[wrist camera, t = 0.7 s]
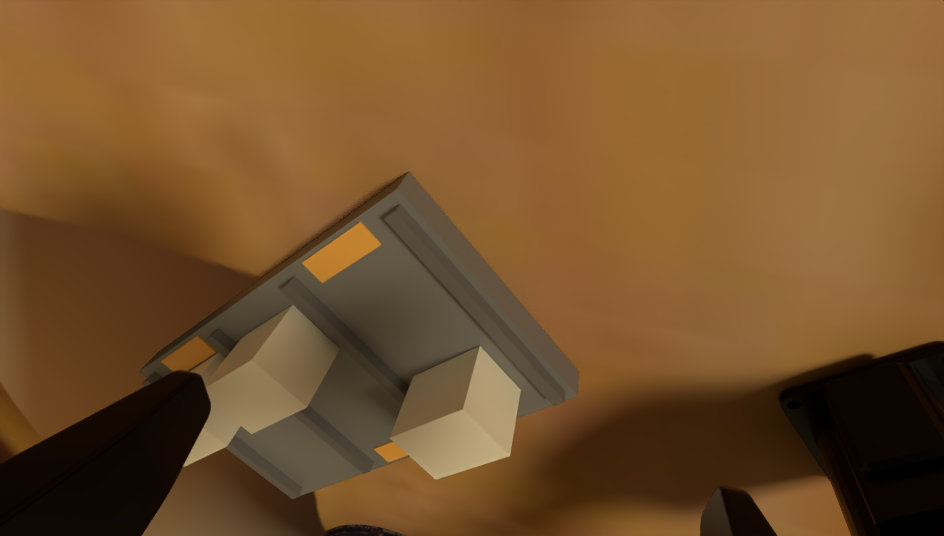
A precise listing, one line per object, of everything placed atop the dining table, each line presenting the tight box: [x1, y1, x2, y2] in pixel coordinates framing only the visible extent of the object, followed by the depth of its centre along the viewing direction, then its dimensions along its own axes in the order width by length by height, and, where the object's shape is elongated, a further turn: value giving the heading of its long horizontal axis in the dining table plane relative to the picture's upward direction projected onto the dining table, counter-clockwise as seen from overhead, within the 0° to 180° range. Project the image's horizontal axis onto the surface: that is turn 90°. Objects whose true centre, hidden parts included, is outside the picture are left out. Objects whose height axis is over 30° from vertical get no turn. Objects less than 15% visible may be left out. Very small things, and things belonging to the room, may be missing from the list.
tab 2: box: [390, 346, 521, 479], centre depth 23 cm, size 3×4×4 cm
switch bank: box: [140, 172, 579, 499], centre depth 27 cm, size 12×20×2 cm, turn 129°
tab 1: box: [205, 305, 340, 434], centre depth 24 cm, size 3×4×4 cm
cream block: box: [183, 353, 241, 467], centre depth 27 cm, size 3×4×4 cm
